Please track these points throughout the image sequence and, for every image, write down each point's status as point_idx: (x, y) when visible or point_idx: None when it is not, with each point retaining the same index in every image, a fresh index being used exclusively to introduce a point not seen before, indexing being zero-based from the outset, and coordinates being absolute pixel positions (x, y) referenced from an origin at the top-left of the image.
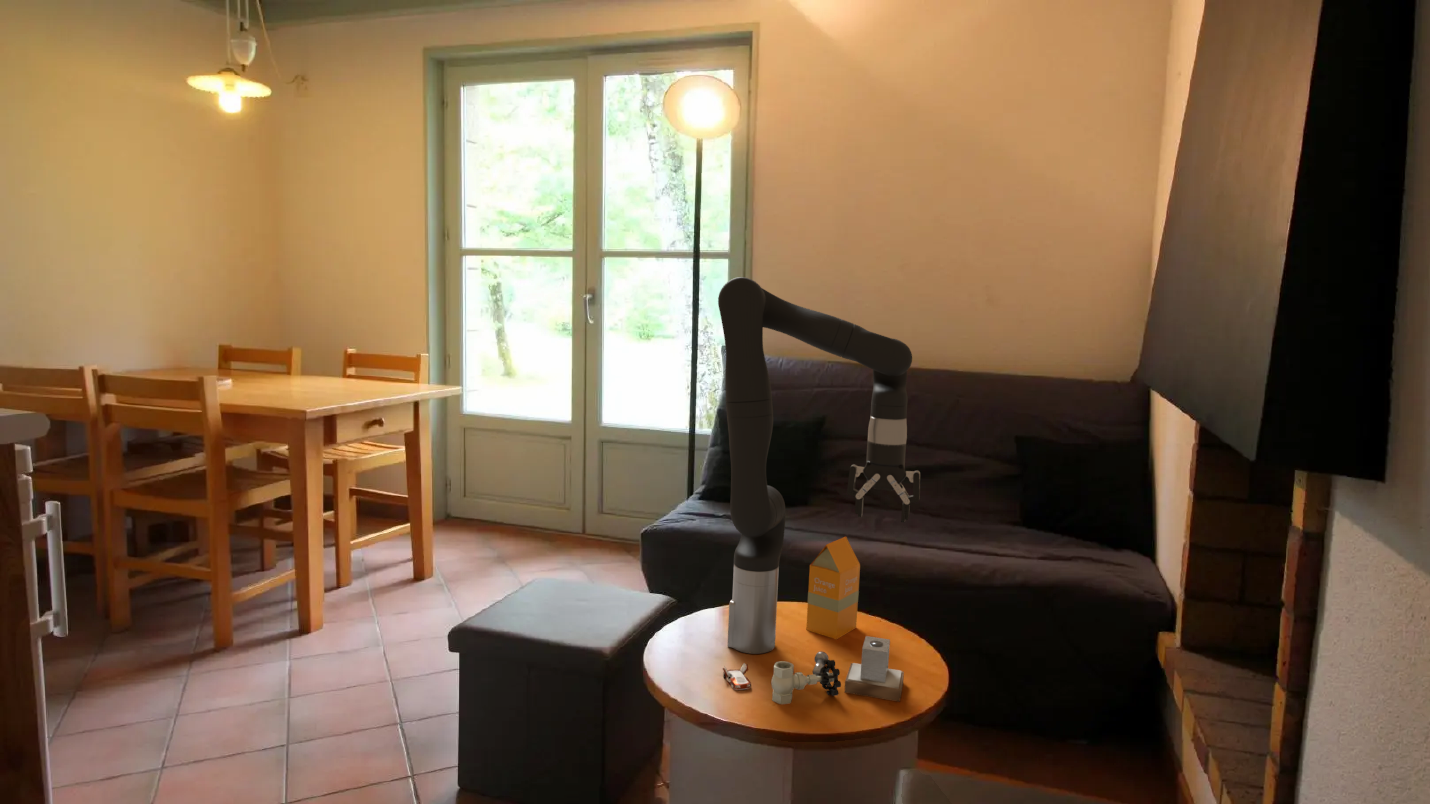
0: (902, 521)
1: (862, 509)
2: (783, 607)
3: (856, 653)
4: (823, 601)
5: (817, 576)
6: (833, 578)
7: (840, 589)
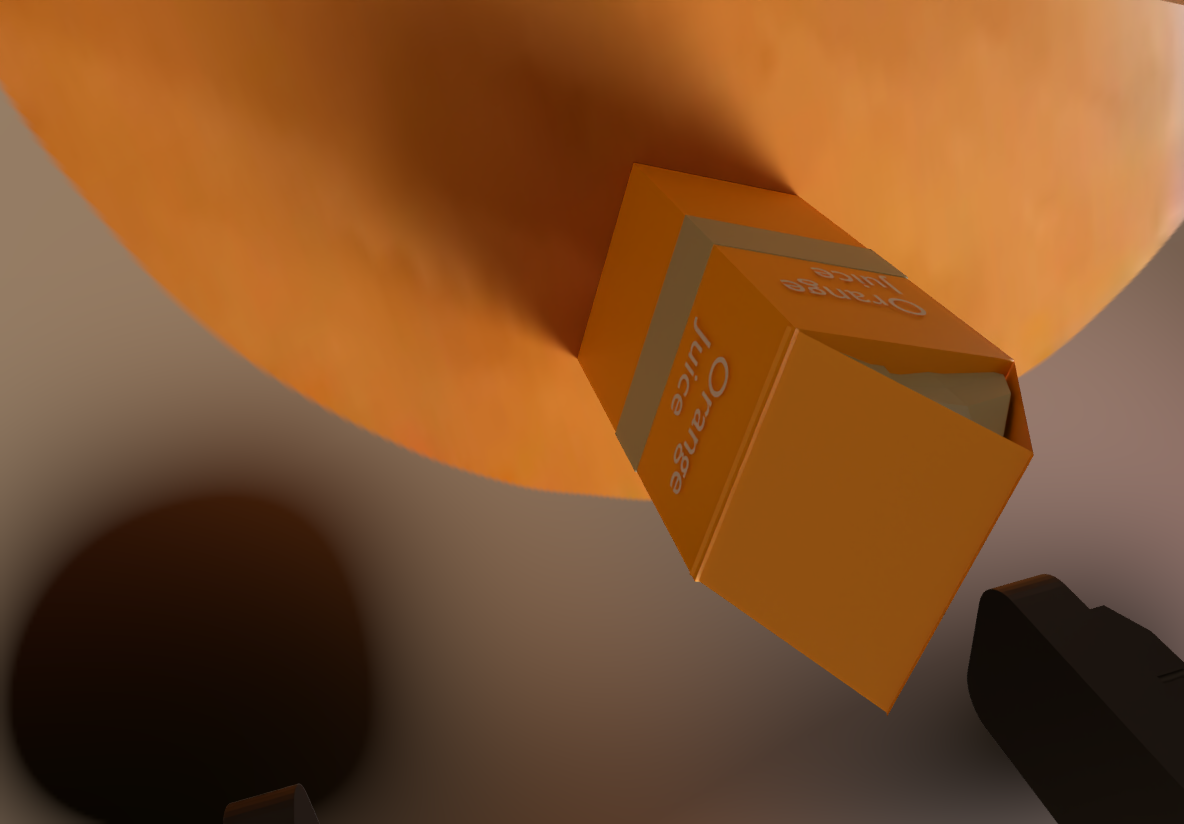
0: (266, 794)
1: (1047, 743)
2: None
3: (484, 32)
4: (796, 247)
5: (920, 321)
6: (819, 311)
7: (736, 290)
